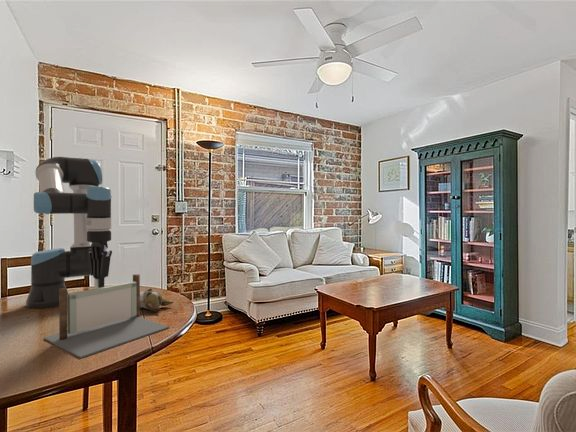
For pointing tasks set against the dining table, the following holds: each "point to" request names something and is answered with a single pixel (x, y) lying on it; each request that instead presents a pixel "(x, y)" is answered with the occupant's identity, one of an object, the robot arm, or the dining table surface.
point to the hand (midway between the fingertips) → (99, 296)
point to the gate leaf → (100, 306)
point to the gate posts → (64, 307)
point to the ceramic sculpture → (152, 300)
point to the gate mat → (106, 336)
